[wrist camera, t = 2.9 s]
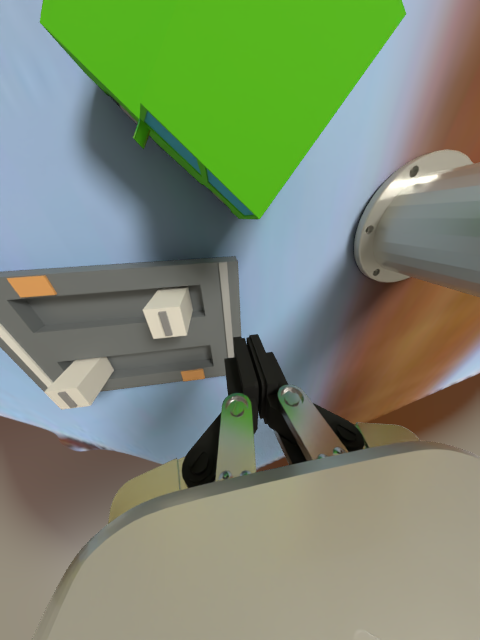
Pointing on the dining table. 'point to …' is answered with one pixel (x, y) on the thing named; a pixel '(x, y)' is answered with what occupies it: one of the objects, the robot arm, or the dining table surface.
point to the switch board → (119, 320)
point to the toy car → (226, 77)
